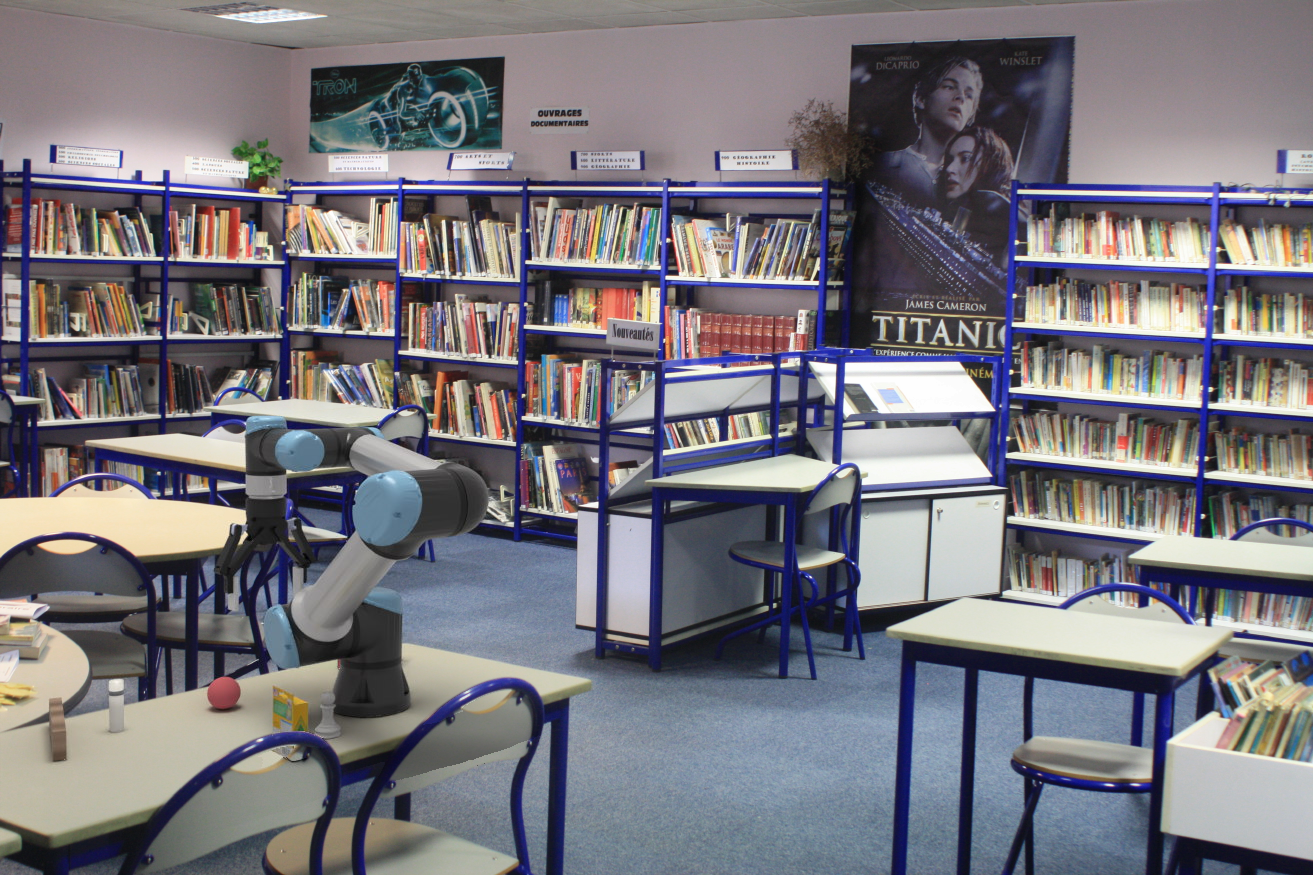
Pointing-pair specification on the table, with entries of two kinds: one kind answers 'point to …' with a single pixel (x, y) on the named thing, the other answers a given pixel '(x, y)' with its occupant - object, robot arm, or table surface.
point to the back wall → (57, 729)
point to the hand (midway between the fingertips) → (266, 605)
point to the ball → (223, 693)
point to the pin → (116, 705)
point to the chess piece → (328, 718)
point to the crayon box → (288, 716)
